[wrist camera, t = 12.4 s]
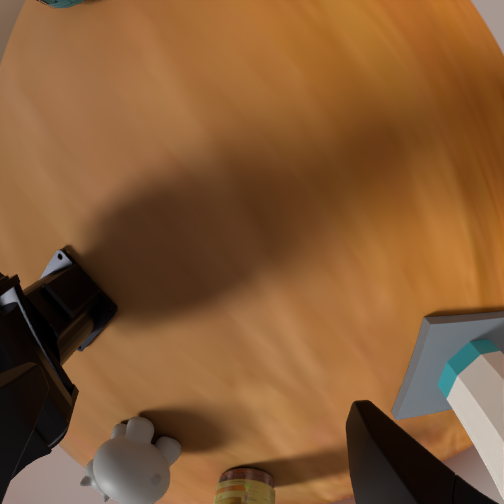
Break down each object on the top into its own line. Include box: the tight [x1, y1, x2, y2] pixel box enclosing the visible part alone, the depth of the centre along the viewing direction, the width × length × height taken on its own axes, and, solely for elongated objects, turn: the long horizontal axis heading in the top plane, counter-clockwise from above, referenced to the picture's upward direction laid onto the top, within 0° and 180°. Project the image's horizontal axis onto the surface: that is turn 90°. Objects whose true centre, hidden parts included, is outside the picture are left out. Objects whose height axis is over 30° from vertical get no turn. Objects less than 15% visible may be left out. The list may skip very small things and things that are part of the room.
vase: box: [437, 339, 504, 499], centre depth 14 cm, size 6×6×13 cm
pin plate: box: [391, 311, 504, 420], centre depth 19 cm, size 16×10×4 cm, turn 88°
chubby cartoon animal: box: [80, 417, 181, 504], centre depth 22 cm, size 7×12×8 cm, turn 124°
